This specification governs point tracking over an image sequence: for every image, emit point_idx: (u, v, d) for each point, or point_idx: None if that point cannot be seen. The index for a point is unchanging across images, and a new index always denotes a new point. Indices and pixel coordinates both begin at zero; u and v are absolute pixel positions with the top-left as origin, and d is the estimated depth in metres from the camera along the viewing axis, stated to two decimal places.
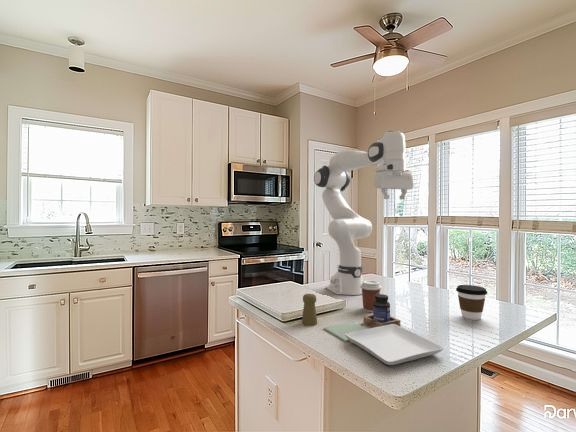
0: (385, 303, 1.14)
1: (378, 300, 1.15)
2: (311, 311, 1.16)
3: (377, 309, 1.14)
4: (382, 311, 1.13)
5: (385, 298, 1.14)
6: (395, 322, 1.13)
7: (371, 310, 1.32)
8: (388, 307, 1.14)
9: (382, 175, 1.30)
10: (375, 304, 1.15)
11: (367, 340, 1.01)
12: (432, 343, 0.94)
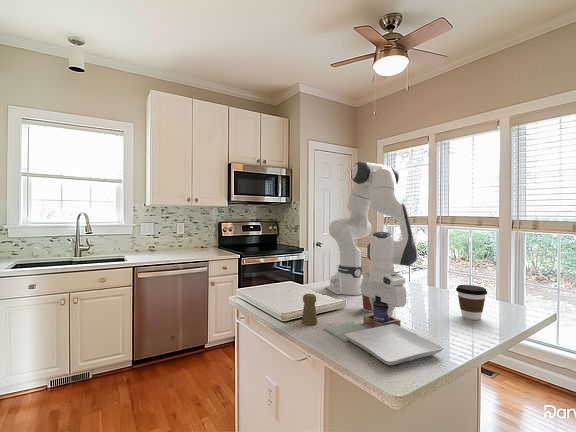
0: (385, 303, 1.14)
1: (378, 300, 1.15)
2: (311, 311, 1.16)
3: (378, 309, 1.14)
4: (382, 311, 1.13)
5: None
6: (395, 322, 1.13)
7: (371, 310, 1.32)
8: (388, 307, 1.14)
9: None
10: (375, 304, 1.15)
11: (367, 340, 1.01)
12: (432, 343, 0.94)
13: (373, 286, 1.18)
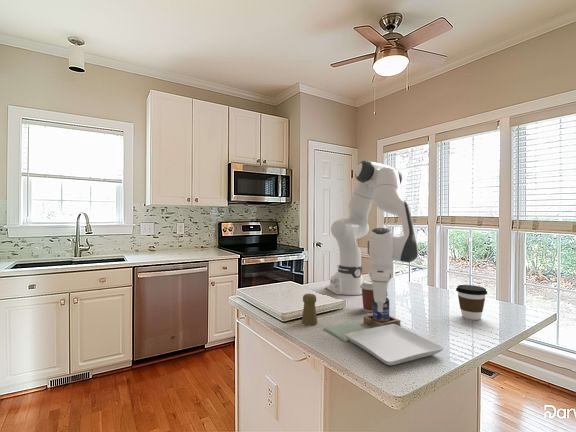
0: None
1: None
2: (311, 311, 1.16)
3: (372, 303, 1.16)
4: (375, 306, 1.15)
5: None
6: (395, 322, 1.13)
7: (371, 310, 1.32)
8: None
9: (386, 288, 1.07)
10: (372, 299, 1.17)
11: (367, 340, 1.01)
12: (432, 343, 0.94)
13: None
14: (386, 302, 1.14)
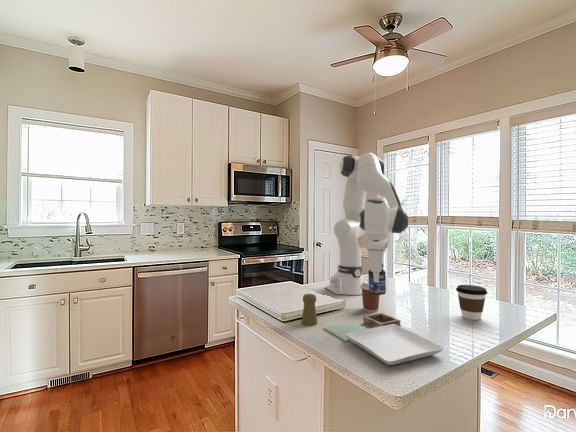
0: None
1: None
2: (311, 311, 1.16)
3: (369, 275, 1.15)
4: (371, 278, 1.13)
5: None
6: (395, 322, 1.13)
7: (371, 310, 1.32)
8: None
9: (382, 257, 1.05)
10: (368, 271, 1.16)
11: (367, 340, 1.01)
12: (432, 343, 0.94)
13: None
14: (382, 273, 1.12)
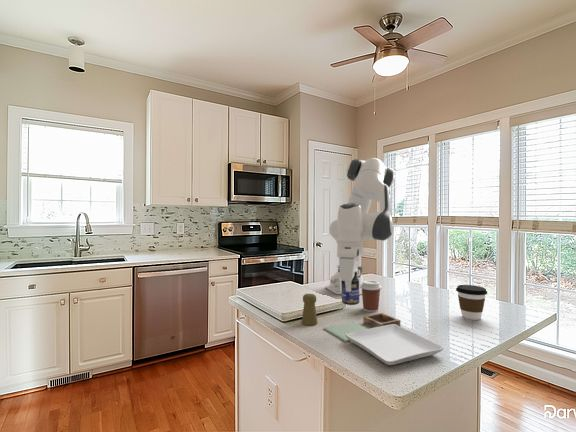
0: None
1: None
2: (311, 311, 1.16)
3: None
4: (343, 287, 1.08)
5: None
6: (395, 322, 1.13)
7: (371, 310, 1.32)
8: (351, 284, 1.06)
9: (353, 265, 1.00)
10: None
11: (367, 340, 1.01)
12: (432, 343, 0.94)
13: None
14: (355, 282, 1.07)
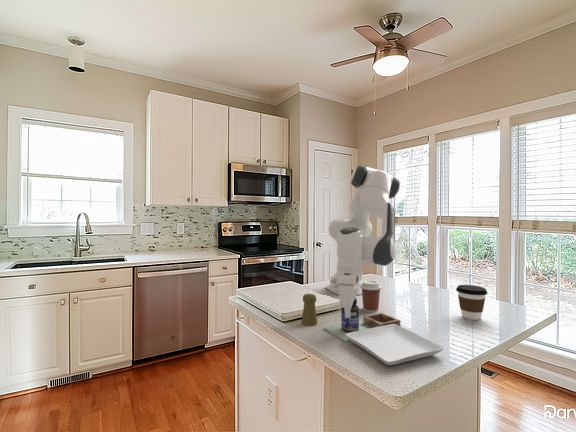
0: None
1: None
2: (311, 311, 1.16)
3: (341, 311, 1.09)
4: (343, 314, 1.08)
5: None
6: (395, 322, 1.13)
7: (371, 310, 1.32)
8: (351, 312, 1.07)
9: (352, 292, 1.00)
10: None
11: (367, 340, 1.01)
12: (432, 343, 0.94)
13: None
14: (355, 310, 1.07)
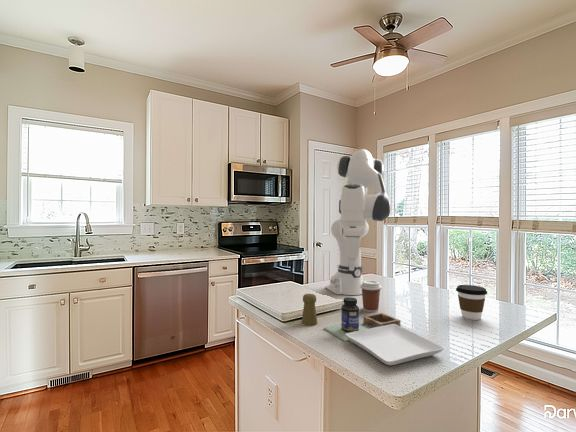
0: (348, 307, 1.08)
1: (344, 302, 1.10)
2: (311, 311, 1.16)
3: (341, 311, 1.09)
4: (343, 314, 1.08)
5: (348, 301, 1.08)
6: (395, 322, 1.13)
7: (371, 310, 1.32)
8: (351, 312, 1.07)
9: (359, 243, 1.02)
10: (342, 306, 1.11)
11: (367, 340, 1.01)
12: (432, 343, 0.94)
13: None
14: (355, 310, 1.07)
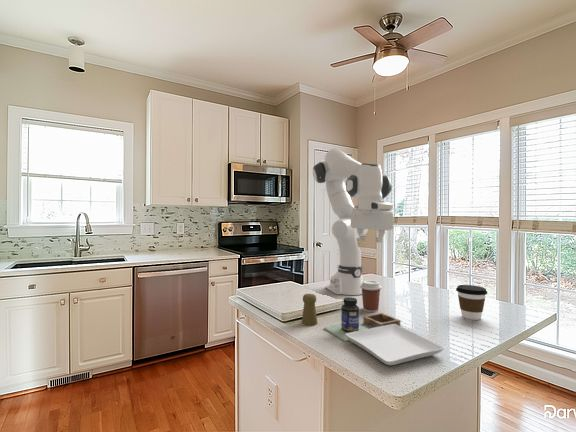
0: (348, 307, 1.08)
1: (344, 302, 1.10)
2: (311, 311, 1.16)
3: (341, 311, 1.09)
4: (343, 314, 1.08)
5: (348, 302, 1.08)
6: (395, 322, 1.13)
7: (371, 310, 1.32)
8: (351, 312, 1.07)
9: None
10: (342, 306, 1.11)
11: (367, 340, 1.01)
12: (432, 343, 0.94)
13: (362, 216, 1.20)
14: (355, 310, 1.07)
